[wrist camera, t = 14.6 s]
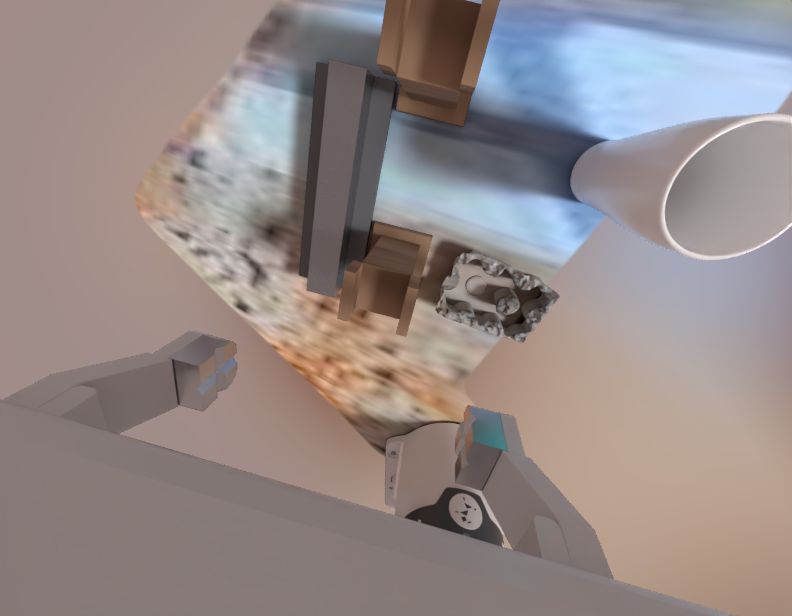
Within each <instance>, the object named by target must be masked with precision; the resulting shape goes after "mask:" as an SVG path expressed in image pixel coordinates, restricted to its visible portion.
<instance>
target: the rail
mask: <svg viewBox="0 0 792 616" xmlns="http://www.w3.org/2000/svg"><path fill="white" fill-rule="evenodd" d="M373 84H374V76H373V75H372V74H371V72H370V71H369V70H368V69H367V68H363V67H358V66H354V65H350V64H346V63H342V62H338V61H334V60H330V59H329V67H328V78H327V88H326V98H325V108H324V118H323V129H322V139H321V149H320V159H319V169H318V180H317V190H316V200H315V210H314V220H313V231H312V241H311V251H310V261H309V272H308V282H307V291H311V292H315V293H318V294H322V295H326V296H330V297H335V296H336V294H337V293H338V292H339V290H340V289H341V288H342V284H343V278H344V271H345V265H346V258H347V252H348V245H349V239H350V232H351V226H352V220H353V213H354V207H355V200H356V194H357V187H358V181H359V174H360V168H361V161H362V155H363V148H364V142H365V136H366V129H367V123H368V116H369V110H370V103H371V97H372V90H373Z"/></svg>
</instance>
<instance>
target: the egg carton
mask: <svg viewBox="0 0 792 616" xmlns="http://www.w3.org/2000/svg"><path fill="white" fill-rule="evenodd" d="M473 259H479V260H480V262H481V264H482V267H483V270H484V271H485V272H486V273H487V274H490V275H493V276H494V277H496V276H498V275H501V274H502V272H503V271H504V269H507V271H508V273H510V275H511V277H512V279H513V282H514V284H515V285H517V286H518V287H519V288H520V289H522V290H530V289H531V288H535V287H536V286H539V288H540V291H541V292H540V294H539V295H538V296H537V297H536V298H535V299H531V300H528V301H526V302H525V303H524V304H523V305H522V308H521V311H522V315H521V316H520V317H519V318H518V319H517V320H516V321H515V323H514V324H512V325H510V326H509V327H508V328H506V327H503V326H502V324H501V321H500V318H499V316H498V315H496V314H495V313H486V314H484V315H482V316H479V315H474V311H473V308H472V306H471V304H470V303H468V302H463V301H462V302H458V303H456V304H455V305H454V306H453V305H450V304H448V303H446V297H445V295H444V290H452V289H454V288H455V287H456V286H457V285H458V284H459V281H460V276H459V271H458V269H457V267H456V264H458V265H459V264H466V263H468V262H469V261H471V260H473ZM486 288H487V282H486V280H485V279H484V278H483V277H481V276H473V277H471V278H469V279H468V280H467V282H466V289H467V291H468V292H469V293H471V294H473V295H479V294H482V293H483V292H484V291H485V290H486ZM440 298H441V299H440V301H439V302H438V305H437V307H436V311H437V313H438V314H441V315H443V316H444V317H446V318H449V319H451V320H453V321H456V322H459V323H462V322H463V323H465V324H467V325H469V326H470V327H472V328H477V329H479V330H481V331H484V332H486V333H488V334H490V335H495V336H499V337H505V338H512V339H514V340H515V341H517V342H524V341H525V338H526V336H527V335H528V333H529V332H531V331H533V330H534V328H535V326H536V325H537V324H538V323H539V322H540V321H541V320H542V318H543V317H544V316H545V315H546V314H547V313H548V311H549V308H550V306H551V305H553V304H554V303H555V302H556V301H557V299H558V298H559V295H558V294H557V293H556V292H555V291H554V290H552V289H551V288H549V287H548V286H546V285H545V284H544V283H543V282H542V280H541V279H540V278H539V277H537V276H534V275H531V276H526V275H524V274H523V273H521V272H520V271H518V270H515V269H513V268H511V266H510V265H508V264H506V263H503V262H500V261H498V260H495V259H492V258H490V257H487V256H484V255H481V253H479V252H477V251H475V250H472V251H471V252H470V253H462V254H461V255H460V256H457V257H456V259H455V261H454V262H453V270H452V275H451V276H447V277H446V279H445V280H444V282H443V284H442V287H441V289H440ZM494 301H495V305H496V311H497V312H498V313H502V314H505V315H509V314H512V313H514V312H515V311H517V310H518V309H519V308H520V303H519V302H520V301H519V299H518V298H517V296H516V294H515V292H514V291H513V290H512V289H511V288H507V287H505V288H501V289H498V290H497V291H496V292H495V294H494Z"/></svg>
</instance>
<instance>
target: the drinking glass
mask: <svg viewBox="0 0 792 616" xmlns="http://www.w3.org/2000/svg"><path fill="white" fill-rule="evenodd" d="M570 184H571V189H572V192H573V194H574V196H575V197H576V198H577V199H578V200H579V201H580V202H582V203H583V204H585V205H588V206H591V207H592V208H594V209H596V210H597V211H599V212H600V213H602V214H603V215H605V216H607V217H608V218H610V219H611V220H613V221H614V222H616V223H617V224H619V225H620V226H622V227H623V228H625V229H627V230H628V231H629V232H631V233H633V234H634V235H636V236H638V237H640V238H642V239H644V240H646V241H648V242H650V243H652V244H655V245H657V246H660V247H662V248H665V249H668V250H670V251H673V252H676V253H679V254H682V255H685V256H688V257H691V258H695V259H702V260H718V259H726V258H731V257H735V256H739V255H742V254H745V253H748V252H750V251H753V250H755V249H757V248H759V247H761V246H763V245H765V244H767V243H768V242H770V241H772V240H773V239H775V238H776V237H778V236H779V235H780V234H782V233H783V232H785V231H786V230H787V229H788V228H789V227H790V226H792V116H791V115H786V114H779V113H767V114H750V115H736V116H725V117H716V118H709V119H702V120H697V121H692V122H687V123H682V124H678V125H674V126H670V127H666V128H662V129H658V130H655V131H651V132H647V133H643V134H639V135H635V136H631V137H627V138H623V139H619V140H609V141H604V142H601V143H598V144H596V145H594V146H592V147H591V148H589V149H588V150H587V151H585V152H584V153H583V154H582V155H581V156H580V158H579V159H578V160H577V162H576V163H575V165H574V167H573V170H572V173H571V178H570Z"/></svg>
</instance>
